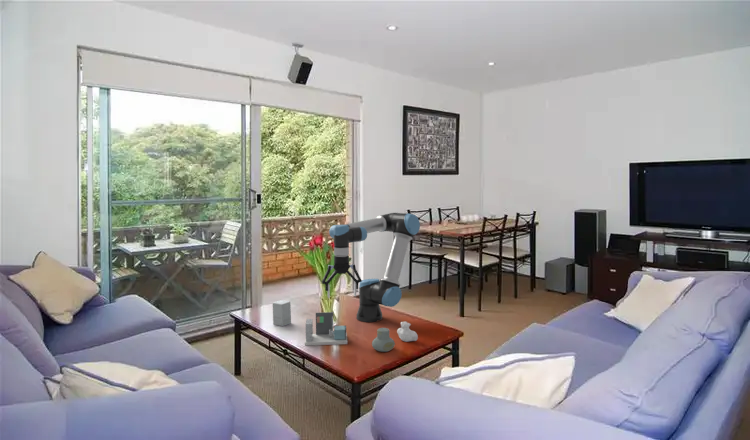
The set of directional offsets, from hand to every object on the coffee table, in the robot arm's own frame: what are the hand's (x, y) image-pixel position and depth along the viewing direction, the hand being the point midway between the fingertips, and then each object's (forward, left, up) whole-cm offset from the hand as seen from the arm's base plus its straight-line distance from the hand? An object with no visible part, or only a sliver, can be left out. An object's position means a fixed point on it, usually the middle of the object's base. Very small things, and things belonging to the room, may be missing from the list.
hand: (341, 296), depth 234 cm
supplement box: (+34, -26, -22) cm, 48 cm away
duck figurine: (-32, +7, -22) cm, 40 cm away
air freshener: (-19, +18, -22) cm, 34 cm away
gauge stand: (+8, +3, -22) cm, 24 cm away
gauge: (+2, +3, -20) cm, 20 cm away
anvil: (+17, +4, -20) cm, 27 cm away
